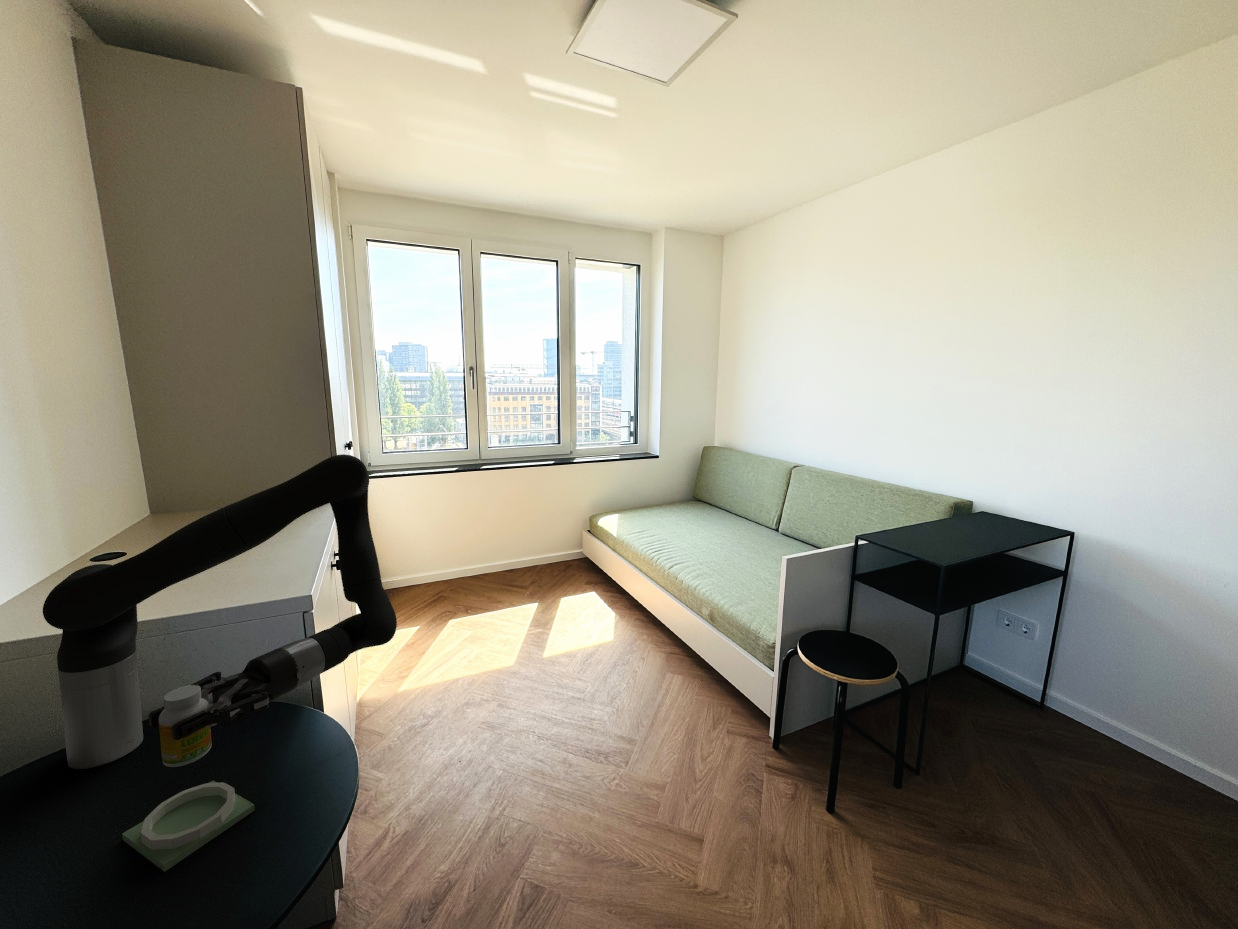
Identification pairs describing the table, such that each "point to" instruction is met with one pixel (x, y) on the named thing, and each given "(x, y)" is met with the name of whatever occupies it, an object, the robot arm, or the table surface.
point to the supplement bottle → (177, 709)
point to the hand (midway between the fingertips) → (162, 727)
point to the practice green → (187, 823)
